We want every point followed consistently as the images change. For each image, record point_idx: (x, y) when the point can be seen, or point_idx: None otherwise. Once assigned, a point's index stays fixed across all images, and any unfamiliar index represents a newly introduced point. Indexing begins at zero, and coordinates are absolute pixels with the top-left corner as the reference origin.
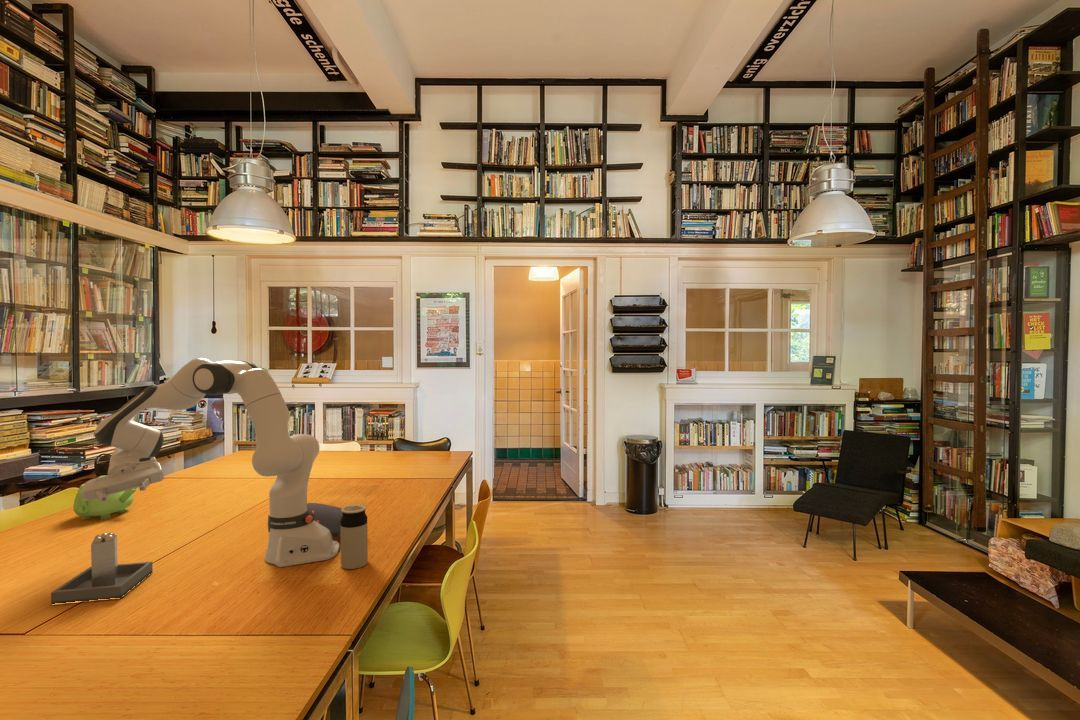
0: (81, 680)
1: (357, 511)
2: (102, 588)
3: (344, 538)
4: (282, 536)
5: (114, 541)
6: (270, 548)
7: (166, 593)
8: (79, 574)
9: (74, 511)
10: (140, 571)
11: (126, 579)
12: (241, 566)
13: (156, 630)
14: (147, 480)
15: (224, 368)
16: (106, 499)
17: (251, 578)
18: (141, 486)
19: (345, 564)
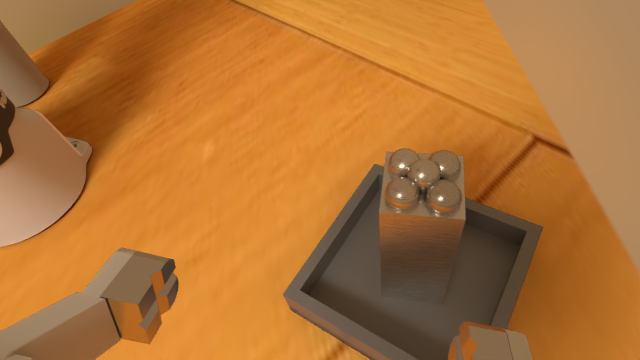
0: (416, 4)
1: None
2: None
3: (6, 31)
4: (29, 109)
5: (386, 154)
6: (56, 160)
7: (293, 158)
8: None
9: None
10: (324, 235)
11: (361, 196)
12: (127, 200)
13: (333, 54)
14: (23, 320)
15: None
16: (455, 342)
17: (155, 133)
18: (148, 255)
19: (43, 76)
